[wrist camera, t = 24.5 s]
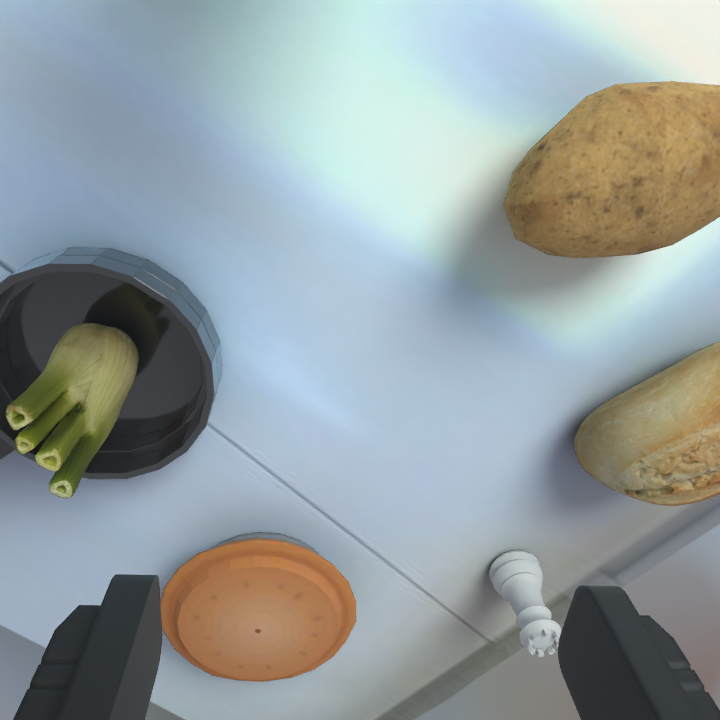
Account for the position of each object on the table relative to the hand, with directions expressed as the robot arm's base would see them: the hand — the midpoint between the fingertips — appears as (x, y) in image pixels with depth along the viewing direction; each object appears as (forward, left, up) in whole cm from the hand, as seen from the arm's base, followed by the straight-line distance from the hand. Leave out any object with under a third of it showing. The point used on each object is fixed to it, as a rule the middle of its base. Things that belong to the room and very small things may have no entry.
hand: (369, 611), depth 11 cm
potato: (+6, +16, -30) cm, 35 cm away
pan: (-2, -17, -30) cm, 35 cm away
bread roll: (+25, +13, -30) cm, 41 cm away
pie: (+21, -22, -30) cm, 43 cm away
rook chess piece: (+33, -4, -30) cm, 45 cm away
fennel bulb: (-2, -17, -30) cm, 34 cm away
